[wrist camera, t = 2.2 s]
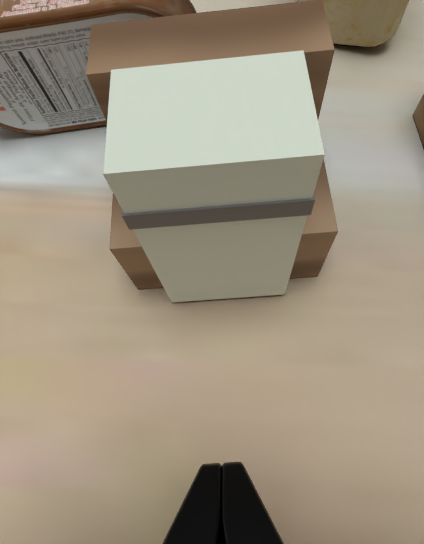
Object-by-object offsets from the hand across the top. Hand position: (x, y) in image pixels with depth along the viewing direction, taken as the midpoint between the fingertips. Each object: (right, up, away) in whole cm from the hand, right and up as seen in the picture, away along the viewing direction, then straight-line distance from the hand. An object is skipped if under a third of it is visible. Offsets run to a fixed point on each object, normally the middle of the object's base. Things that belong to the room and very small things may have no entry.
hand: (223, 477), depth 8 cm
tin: (-8, +15, +19) cm, 25 cm away
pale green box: (0, +5, +13) cm, 14 cm away
